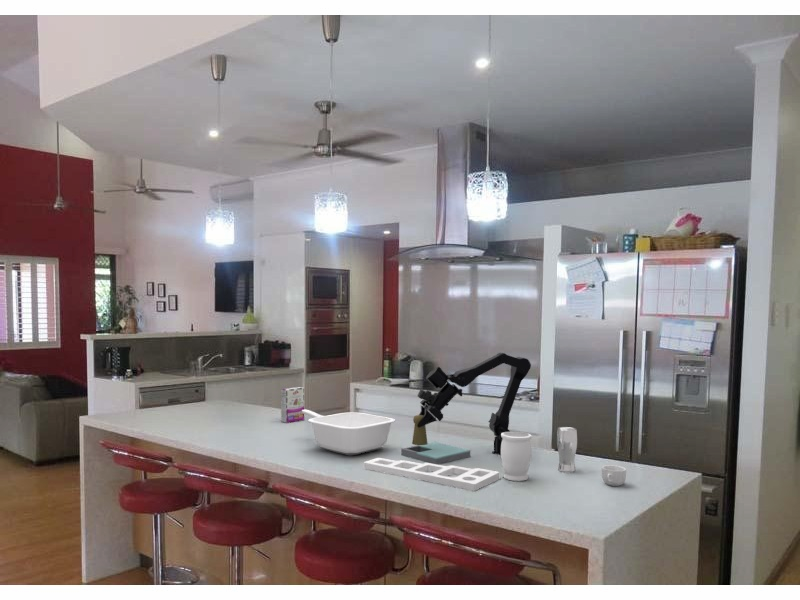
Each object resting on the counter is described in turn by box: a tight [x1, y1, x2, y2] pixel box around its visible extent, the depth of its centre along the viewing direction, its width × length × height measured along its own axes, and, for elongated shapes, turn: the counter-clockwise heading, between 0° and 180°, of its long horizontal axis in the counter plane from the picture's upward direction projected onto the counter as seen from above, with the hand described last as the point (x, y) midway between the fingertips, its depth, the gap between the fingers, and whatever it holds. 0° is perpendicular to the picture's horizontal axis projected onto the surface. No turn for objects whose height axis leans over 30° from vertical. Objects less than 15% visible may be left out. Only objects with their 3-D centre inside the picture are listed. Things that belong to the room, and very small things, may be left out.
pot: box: [302, 408, 396, 456], centre depth 260 cm, size 28×44×13 cm, turn 48°
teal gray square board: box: [400, 441, 471, 465], centre depth 246 cm, size 19×19×2 cm
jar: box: [500, 431, 532, 482], centre depth 216 cm, size 11×10×15 cm
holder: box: [363, 457, 500, 492], centre depth 221 cm, size 45×18×3 cm, turn 55°
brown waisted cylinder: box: [411, 414, 429, 446], centre depth 246 cm, size 6×6×11 cm
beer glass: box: [556, 426, 578, 473], centre depth 227 cm, size 7×7×15 cm
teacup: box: [601, 464, 627, 487], centre depth 209 cm, size 10×8×5 cm
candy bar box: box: [280, 386, 305, 424], centre depth 314 cm, size 11×5×16 cm, turn 138°
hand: (416, 425), depth 246 cm, fingers closed on brown waisted cylinder, 5 cm apart
